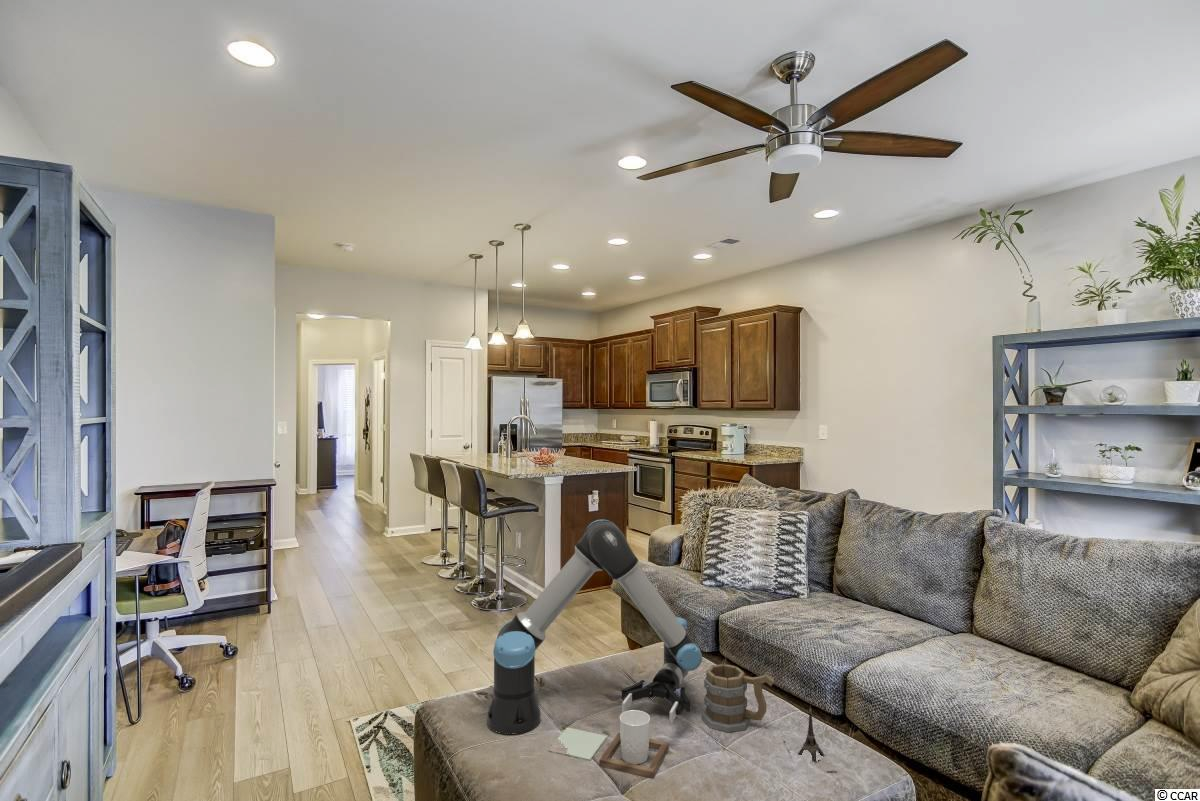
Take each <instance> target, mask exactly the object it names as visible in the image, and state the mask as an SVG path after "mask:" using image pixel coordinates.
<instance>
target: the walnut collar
mask: <svg viewBox="0 0 1200 801" xmlns="http://www.w3.org/2000/svg"><path fill="white" fill-rule="evenodd" d="M669 745H670V744H669V742H668V741H667V742H666V741H662V740H657V739H652V738H649V748H648V749H653V750H657V753H655V756H654V758H653V759H652V761H651V763H650V765H649V767H648V766H643V765H641V764H632V763H627V762H625V761H624V760H623V761H622V760H617V759H614V758H613V756H614V755H615V753H616V752H617V750H618V749H619V748H620V747H621V739H620V731H619V732H618V733H617V734H616V736H615V737H614V738H613V739H612V740H611V743H610V744H609V746H608V747H607V748H606V750H605V751H604V752H603V753H602V755H601V756H600V758H599V764H598V765H599V767H602V768H608V769H612V770H616V771H620V772H623V773H629V774H632V775H637V776H640V777H645V778H649V779H654V777H655V776H656V774H657V772H658V770H659V768H660V766H661V765H662V763H663V760H664V758H665V757H666V754H667V752H668V750H669V748H670V747H669Z"/></svg>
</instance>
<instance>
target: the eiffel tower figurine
mask: <svg viewBox="0 0 1200 801" xmlns="http://www.w3.org/2000/svg"><path fill="white" fill-rule="evenodd" d="M812 711H813V709H812V708H811V704H810V707H809V709H808V714H809V715H808V728H807V734H806V739H805V742H803V743H802V747H801V748H800V750H799V751H798V752H797V753H798V755H802V753H803V751H804V750H808V751H809V752H810V753H811V755H812V762H814V763H813V764H814V765H816V764H818V763H819V762H820V761H819V760H818V763H817V761H816V752H818V753H820V755H821V756H823V757H824V756H825V757H826V755H825V753H824V752H823V750H822V749H821V748H820V747H819V743H817V741H816V740H817V739H816V735H815V733H814V727H813V716H812V715H813V714H812V713H813V712H812ZM825 757H824V758H825ZM812 762H811V763H812ZM826 773H835V774H836V773H837V774H838V771H837V770H827V771H826Z"/></svg>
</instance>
